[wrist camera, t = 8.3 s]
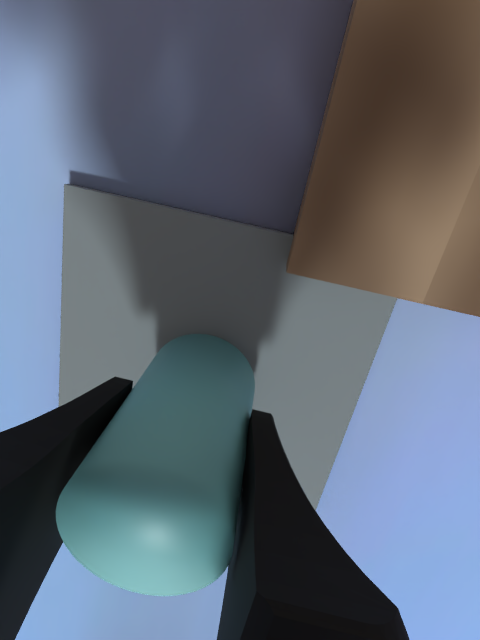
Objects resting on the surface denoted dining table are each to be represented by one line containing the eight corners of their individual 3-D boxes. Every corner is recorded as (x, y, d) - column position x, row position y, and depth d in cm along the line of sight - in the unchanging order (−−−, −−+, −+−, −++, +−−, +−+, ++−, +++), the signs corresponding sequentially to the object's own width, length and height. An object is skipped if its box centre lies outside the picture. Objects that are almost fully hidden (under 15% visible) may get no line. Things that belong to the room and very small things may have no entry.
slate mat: (407, 260, 13) (410, 262, 13) (312, 510, 18) (312, 517, 17) (70, 183, 13) (64, 184, 13) (62, 449, 18) (57, 455, 18)
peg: (266, 349, 14) (253, 491, 8) (241, 437, 15) (214, 613, 9) (158, 321, 14) (59, 440, 8) (144, 411, 15) (52, 570, 9)
